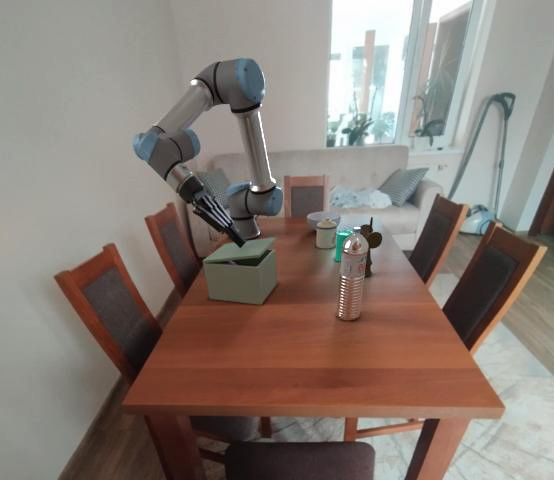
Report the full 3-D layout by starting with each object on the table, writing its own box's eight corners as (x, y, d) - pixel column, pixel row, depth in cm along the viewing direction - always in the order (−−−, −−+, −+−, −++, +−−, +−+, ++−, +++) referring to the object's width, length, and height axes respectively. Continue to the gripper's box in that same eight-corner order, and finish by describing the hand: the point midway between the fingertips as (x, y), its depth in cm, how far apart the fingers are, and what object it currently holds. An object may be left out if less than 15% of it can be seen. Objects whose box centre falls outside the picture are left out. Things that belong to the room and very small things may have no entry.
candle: (351, 257, 135) (354, 226, 127) (347, 262, 131) (350, 231, 123) (337, 255, 137) (339, 225, 129) (333, 260, 133) (335, 229, 125)
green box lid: (276, 239, 108) (276, 237, 108) (259, 257, 96) (258, 254, 95) (225, 245, 115) (224, 243, 115) (203, 263, 103) (202, 260, 103)
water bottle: (345, 323, 94) (354, 233, 79) (331, 313, 99) (337, 227, 84) (364, 317, 97) (376, 228, 81) (350, 308, 101) (359, 222, 86)
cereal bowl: (308, 225, 173) (308, 211, 169) (339, 225, 171) (340, 210, 167) (305, 235, 160) (305, 220, 156) (340, 235, 158) (341, 219, 154)
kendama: (367, 269, 125) (374, 212, 112) (377, 279, 117) (386, 219, 105) (352, 270, 124) (358, 214, 111) (361, 281, 116) (368, 221, 104)
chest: (277, 283, 118) (275, 249, 110) (261, 304, 106) (258, 267, 98) (230, 279, 123) (225, 246, 115) (209, 299, 111) (202, 263, 103)
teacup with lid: (336, 248, 144) (338, 220, 136) (315, 249, 144) (316, 221, 137) (335, 240, 153) (337, 213, 146) (315, 240, 154) (316, 213, 146)
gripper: (180, 178, 91) (242, 243, 97) (202, 171, 100) (257, 230, 106) (168, 199, 96) (228, 259, 101) (191, 190, 105) (244, 246, 111)
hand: (243, 244), depth 104 cm, fingers closed
